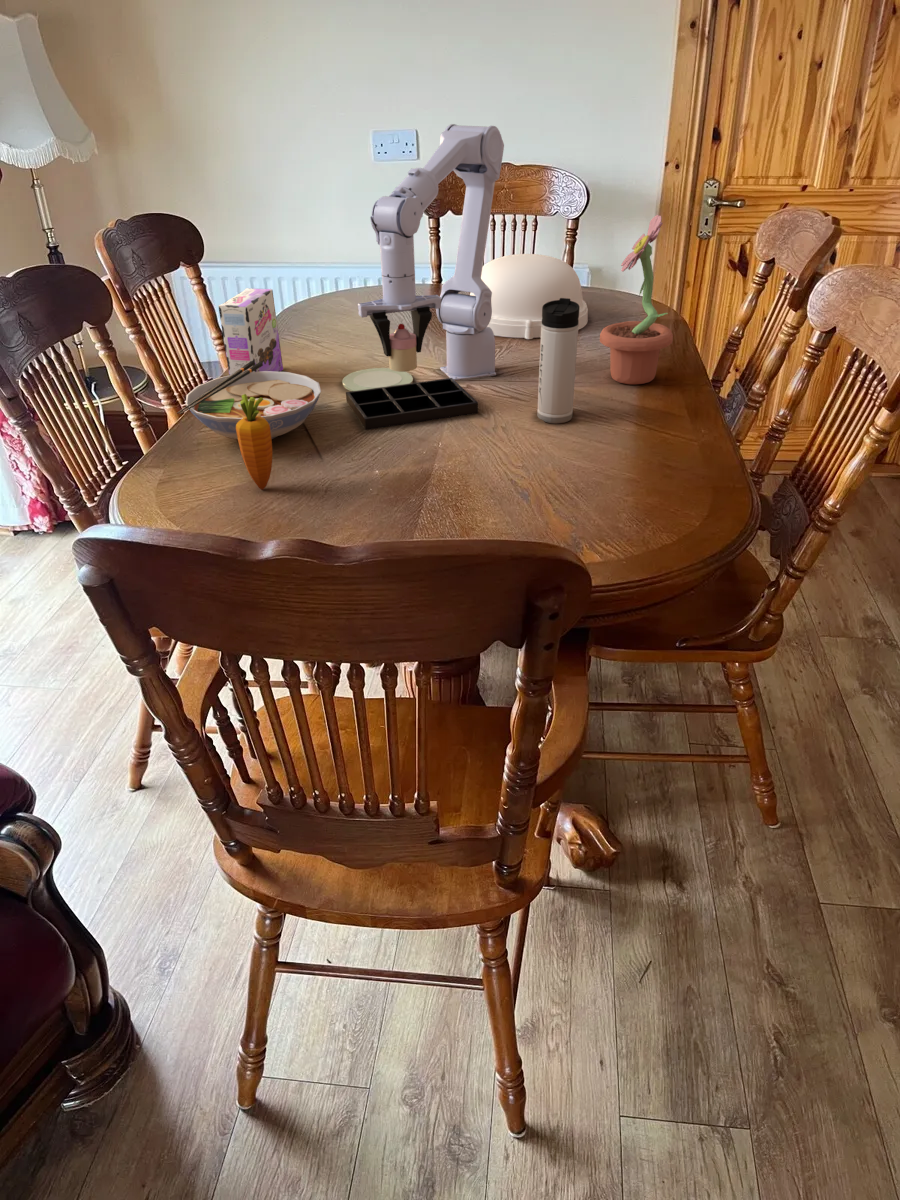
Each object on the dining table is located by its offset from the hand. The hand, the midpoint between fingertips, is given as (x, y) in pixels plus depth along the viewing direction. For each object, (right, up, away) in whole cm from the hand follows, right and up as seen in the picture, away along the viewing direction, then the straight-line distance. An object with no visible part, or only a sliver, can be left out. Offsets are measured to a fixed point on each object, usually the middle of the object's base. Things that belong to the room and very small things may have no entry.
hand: (402, 352), depth 151 cm
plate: (-6, -1, +16) cm, 17 cm away
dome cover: (+27, +23, +52) cm, 62 cm away
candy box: (-30, 0, +19) cm, 35 cm away
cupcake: (0, -2, +2) cm, 3 cm away
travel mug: (+27, -12, 0) cm, 30 cm away
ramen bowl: (-25, -16, -4) cm, 29 cm away
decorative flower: (+45, 0, +16) cm, 48 cm away
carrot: (-20, -28, -22) cm, 41 cm away
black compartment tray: (+1, -9, +4) cm, 10 cm away
